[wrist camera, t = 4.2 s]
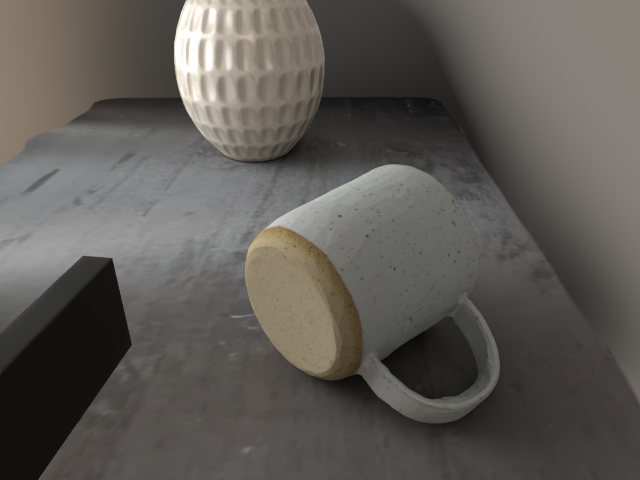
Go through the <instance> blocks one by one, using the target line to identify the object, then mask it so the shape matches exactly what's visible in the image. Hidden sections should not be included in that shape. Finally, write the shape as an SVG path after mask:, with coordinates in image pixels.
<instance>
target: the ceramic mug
mask: <svg viewBox="0 0 640 480" xmlns="http://www.w3.org/2000/svg"><path fill="white" fill-rule="evenodd" d="M479 264H480V254H479V249H478V244H477V240H476V237H475V234H474V230H473V227H472V225H471V224H470V221H469V219H468V217H467V215H466V213H465V212H464V210H463V209H462V207H461V206H460V204H459V203H458V201H457V200H456V199H455V197H454V196H453V195H452V194H451V193H450V192H449V191H448V190H447V189H446V188H445V187H444V186H443V185H442V184H441V183H440V182H439V181H438V180H436V179H435V178H433V177H432V176H431V175H429V174H427V173H425V172H423V171H421V170H419V169H417V168H414V167H411V166H405V165H396V164H391V165H385V166H381V167H378V168H375V169H373V170H372V171H370V172H368V173H366V174H364V175H362V176H360V177H358V178H356V179H355V180H353V181H351V182H349V183H346V184H344V185H342V186H340V187H338V188H336V189H334V190H332V191H330V192H328V193H326V194H324V195H323V196H321V197H319V198H317V199H315V200H313V201H311V202H309V203H306V204H304V205H302V206H300V207H298V208H296V209H294V210H293V211H291V212H289V213H287V214H285V215H283V216H281V217H280V218H278V219H277V220H275V221H274V222H273V223H272V224H270V225H269V226H268V227H266V228H265V229H264V230H263V231H262V232H260V233H259V234H258V235H257V236H256V238H255V239H254V241H253V242H252V244H251V245H250V247H249V250H248V253H247V258H246V265H245V279H246V286H247V291H248V295H249V299H250V302H251V305H252V307H253V310H254V312H255V315H256V317H257V319H258V321H259V322H260V324H261V326H262V328H263V330H264V332H265V333H266V335H267V336H268V338H269V339H270V341H271V342H272V344H273V345H274V346H275V347H276V348H277V350H278V351H279V352H280V353H281V354H282V355H283V356H284V357H285V358H286V359H287V360H288V361H289V362H290V363H291V364H293V365H294V366H295V367H297V368H298V369H300V370H302V371H303V372H305V373H307V374H308V375H311V376H314V377H317V378H320V379H324V380H329V381H331V380H341V379H343V378H345V377H348V376H351V375H354V374H359V375H362V377H363V379H365V380H366V382H367V383H368V385H369V386H370V387H371V389H372V390H373V391H374V392H375V394H376V395H377V396H378V397H379V398H380V399H382V400H383V401H385V402H386V403H387V404H389V405H390V406H391V407H392V408H393V409H395V410H397V411H399V412H400V413H401V414H402V415H404V416H406V417H408V418H411V419H413V420H416V421H420V422H424V423H447V422H452V421H455V420H458V419H460V418H462V417H463V416H465V415H466V414H468V413H469V412H471V411H472V410H473V409H474V408H475V407H476V406H477V405H479V404H480V403H481V402H482V401H483V400H484V399H485V398H487V397H488V396H489V395H490V393H491V392H492V390H493V389H494V388H495V386H496V384H497V382H498V378H499V373H500V361H499V354H498V349H497V346H496V343H495V340H494V337H493V335H492V333H491V331H490V329H489V327H488V325H487V323H486V321H485V320H484V318H483V316H482V315H481V313H480V312H479V311H478V309H477V308H476V307H475V306H474V304H473V303H472V302H471V301H470V299H469V297H470V295H471V294H472V292H473V290H474V287H475V284H476V282H477V279H478V275H479ZM445 317H450V318H451V319H452V320H453V321H454V322H455V324H456V325H457V327H458V328H459V329H460V331H461V333H462V334H463V335H464V337H465V339H466V340H467V341H468V343H469V345H470V347H471V350H472V352H473V354H474V356H475V361H476V365H477V373H478V377H477V379H476V381H475V383H474V384H473V385H472V386H471V387H470V388H468V389H467V390H466V391H464V392H463V393H461V394H460V395H458V396H453V397H442V398H441V399H440V400H439V399H427V398H425V397H423V396H421V395H419V394H418V393H416V392H414V391H411V390H410V389H409V388H407V387H406V386H405V385H404V384H403V383H402V382H401V381H400V380H398V379H397V378H396V377H395V376H394V375H392V374H391V373H390V371H389V369H388V368H387V367H386V366H385V365H384V364H383V363H382V362H380V361H381V360H382V359H384V358H386V357H387V356H389V355H390V354H391V353H392V352H393V351H394V350H395V349H397V348H398V347H400V346H401V345H403V344H404V343H405V342H407V341H408V340H410V339H412V338H413V337H415V336H417V335H418V334H420V333H422V332H424V331H425V330H427V329H428V328H430V327H431V326H433V325H434V324H437V323H438V322H439V321H441V320H442V319H444V318H445Z"/></svg>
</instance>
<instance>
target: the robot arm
mask: <svg viewBox="0 0 640 480" xmlns="http://www.w3.org/2000/svg"><path fill="white" fill-rule="evenodd" d="M131 345H132V344H131V339H130V335H129V330H128V326H127V321H126V317H125V313H124V308H123V304H122V299H121V295H120V291H119V286H118V282H117V277H116V273H115V269H114V264H113V260H112V258H103V257H91V256H82V257H81V258H80V259H79V260H78V261H77V262H76V263H75V264H74V265H73V266H72V267H71V268H70V269H69V270H68V271H66V272H65V273H64V274H63V275H62V276H61V277H60V278H59V279H58V280H57V281H56V282H55V283H54V284H53V285H52V286H50V287H49V288H48V289H47V290H46V291H45V292H44V293H43V294H42V295H41V296H40V297H39V298H38V299H37V300H36V301H34V302H33V303H32V304H31V305H30V306H29V307H28V308H27V309H26V310H25V311H24V312H23V313H22V314H21V315H20V316H18V317H17V318H16V319H15V320H14V321H13V322H12V323H11V324H10V325H9V326H8V327H7V328H6V329H5V330H4V331H2V332H1V333H0V480H38V479H39V477H40V476H41V474H42V473H43V472H44V470H45V469H46V467H47V466H48V464H49V463H50V462H51V460H52V459H53V457H54V456H55V454H56V453H57V451H58V450H59V449H60V447H61V446H62V444H63V443H64V441H65V440H66V439H67V437H68V436H69V434H70V433H71V431H72V430H73V429H74V427H75V426H76V424H77V423H78V421H79V420H80V418H81V417H82V416H83V414H84V413H85V411H86V410H87V408H88V407H89V406H90V404H91V403H92V401H93V400H94V398H95V397H96V396H97V394H98V393H99V391H100V390H101V388H102V387H103V385H104V384H105V383H106V381H107V380H108V378H109V377H110V375H111V374H112V373H113V371H114V370H115V368H116V367H117V365H118V364H119V362H120V361H121V360H122V358H123V357H124V355H125V354H126V352H127V351H128V350H129V348H130V347H131Z"/></svg>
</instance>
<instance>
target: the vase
mask: <svg viewBox="0 0 640 480" xmlns="http://www.w3.org/2000/svg"><path fill="white" fill-rule="evenodd" d="M174 63H175V72H176V79H177V83H178V88H179V92H180V96H181V98H182V101H183V103H184V106H185V108H186V110H187V112H188V114H189V115H190V117H191V119H192V120H193V122H194V123H195V125H196V126H197V128H198V129H199V130H200V132H201V133H202V134H203V136H204V137H205V138H206V139H207V140H208V141H209V142H210V143H211V144H212V145H213V146H214V147H215V148H216V149H218V150H219V151H220V152H221V153H222V154H224V155H225V156H226V157H228V158H231V159H234V160H238V161H247V162H259V161H268V160H273V159H276V158H279V157H282V156H284V155H286V154H287V153H288V152H289V151H290V150H291V149H292V148H293V147H294V146H295V145H296V143H297V142H298V141H299V140H300V139H301V138H302V136H303V135H304V134H305V132H306V131H307V129H308V127H309V126H310V124H311V122H312V120H313V118H314V116H315V114H316V111H317V109H318V107H319V103H320V100H321V96H322V92H323V86H324V75H325V68H324V67H325V65H324V50H323V42H322V38H321V35H320V31H319V28H318V25H317V23H316V20H315V18H314V15H313V13H312V11H311V9H310V7H309V5H308V3H307V1H306V0H186V2H185V5H184V7H183V10H182V12H181V16H180V19H179V22H178V26H177V30H176V37H175V43H174Z"/></svg>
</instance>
